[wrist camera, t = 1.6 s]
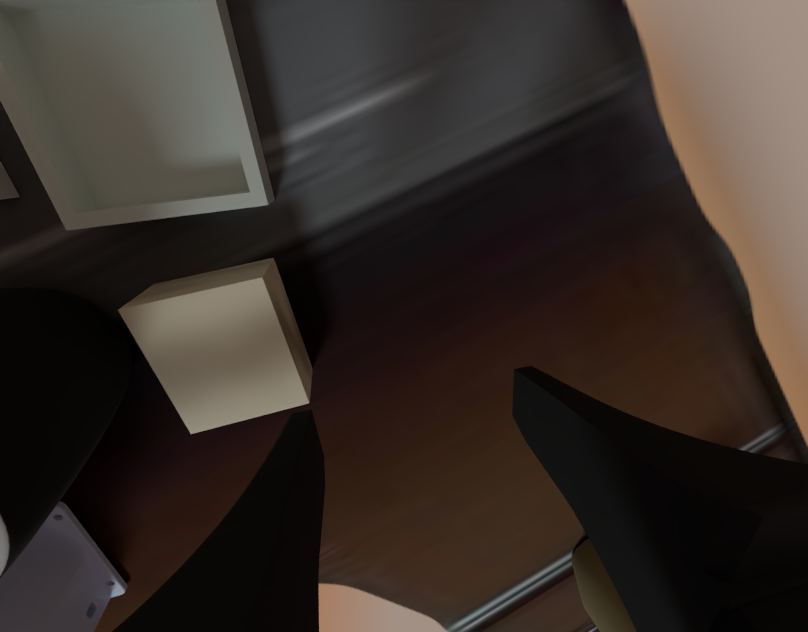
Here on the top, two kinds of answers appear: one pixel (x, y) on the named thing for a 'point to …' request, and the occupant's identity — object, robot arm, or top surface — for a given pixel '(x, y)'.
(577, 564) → the squeeze bottle
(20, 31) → the tray
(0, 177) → the collar
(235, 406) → the push block
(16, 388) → the mug
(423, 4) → the top surface
